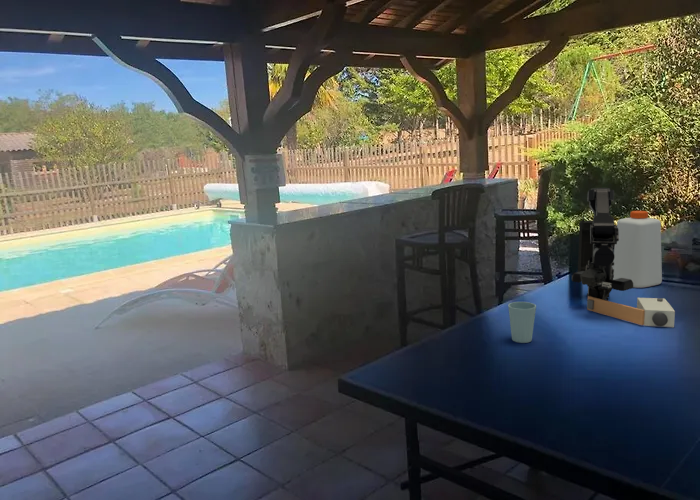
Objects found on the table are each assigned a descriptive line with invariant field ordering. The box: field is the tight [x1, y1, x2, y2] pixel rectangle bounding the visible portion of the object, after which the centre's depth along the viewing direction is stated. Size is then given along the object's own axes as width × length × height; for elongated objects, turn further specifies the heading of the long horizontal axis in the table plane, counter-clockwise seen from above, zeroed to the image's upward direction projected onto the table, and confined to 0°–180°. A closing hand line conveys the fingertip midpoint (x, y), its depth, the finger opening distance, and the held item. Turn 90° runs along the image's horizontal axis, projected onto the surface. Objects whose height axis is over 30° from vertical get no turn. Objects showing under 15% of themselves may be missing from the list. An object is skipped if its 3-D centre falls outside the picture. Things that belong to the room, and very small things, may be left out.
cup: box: [507, 301, 537, 344], centre depth 165 cm, size 8×8×10 cm
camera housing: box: [636, 297, 676, 328], centre depth 177 cm, size 8×15×6 cm, turn 162°
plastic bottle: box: [612, 210, 663, 289], centre depth 220 cm, size 15×15×28 cm
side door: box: [586, 296, 645, 326], centre depth 181 cm, size 2×20×5 cm, turn 28°
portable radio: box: [577, 215, 593, 272], centre depth 236 cm, size 8×6×25 cm
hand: (600, 305), depth 188 cm, fingers closed
